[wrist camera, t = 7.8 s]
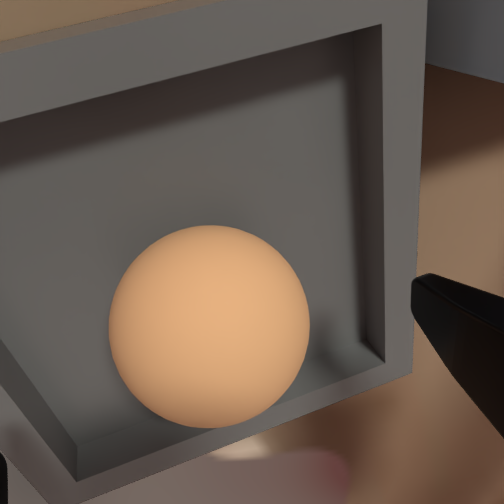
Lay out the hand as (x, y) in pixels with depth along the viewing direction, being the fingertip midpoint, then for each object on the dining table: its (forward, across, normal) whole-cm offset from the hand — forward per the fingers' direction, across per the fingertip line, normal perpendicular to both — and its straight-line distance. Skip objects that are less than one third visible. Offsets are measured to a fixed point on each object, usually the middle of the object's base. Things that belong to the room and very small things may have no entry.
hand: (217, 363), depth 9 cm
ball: (+1, 0, 0) cm, 1 cm away
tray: (+5, 0, 0) cm, 5 cm away
